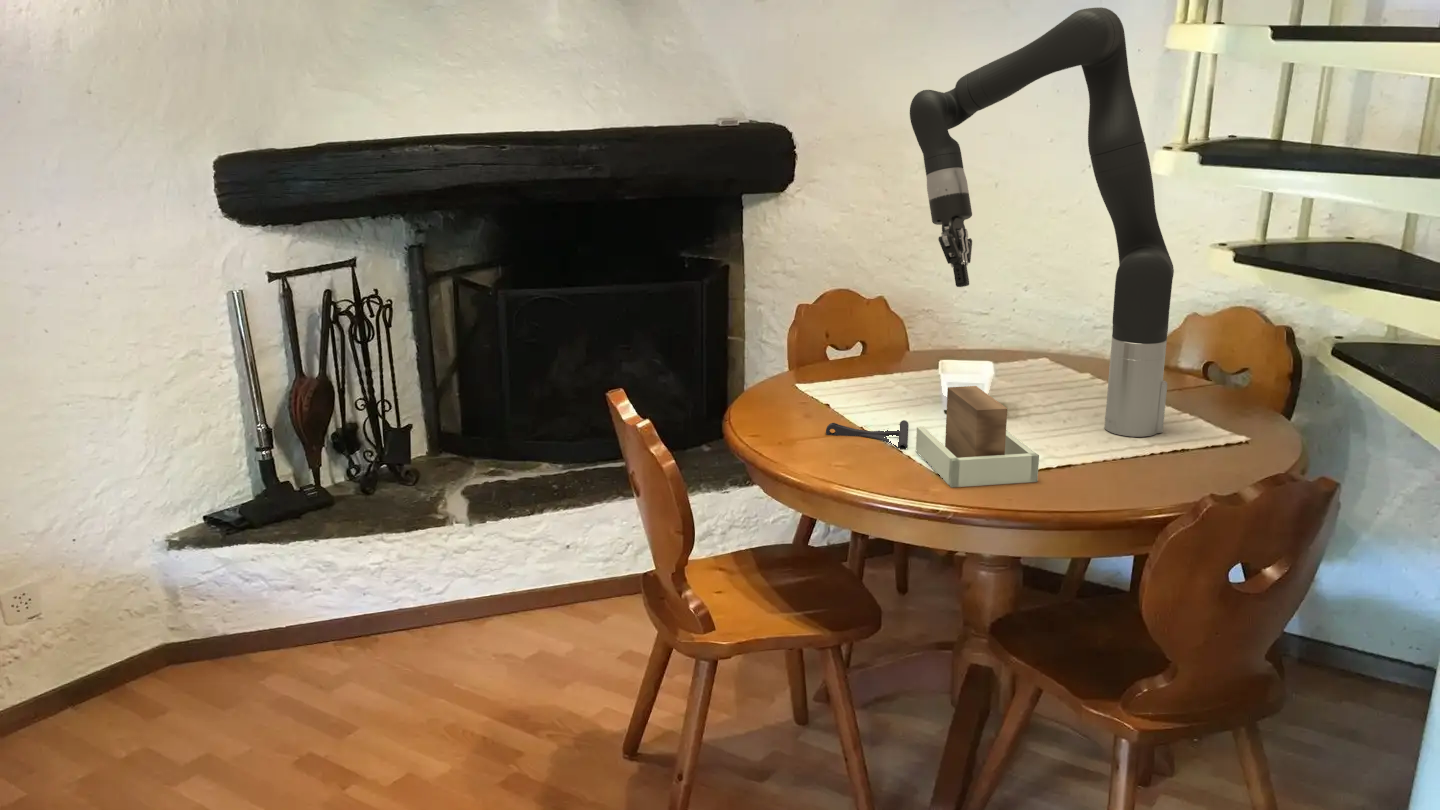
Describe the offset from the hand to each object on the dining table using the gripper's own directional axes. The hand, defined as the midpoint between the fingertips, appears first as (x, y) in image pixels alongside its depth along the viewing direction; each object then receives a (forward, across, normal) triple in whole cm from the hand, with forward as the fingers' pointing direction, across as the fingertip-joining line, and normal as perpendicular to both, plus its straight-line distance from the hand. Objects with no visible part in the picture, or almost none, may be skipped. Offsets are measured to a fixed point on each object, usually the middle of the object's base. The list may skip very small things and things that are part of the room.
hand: (962, 286), depth 210 cm
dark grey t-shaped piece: (+26, -16, +17) cm, 35 cm away
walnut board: (+32, -24, -4) cm, 40 cm away
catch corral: (+32, -23, -4) cm, 40 cm away
